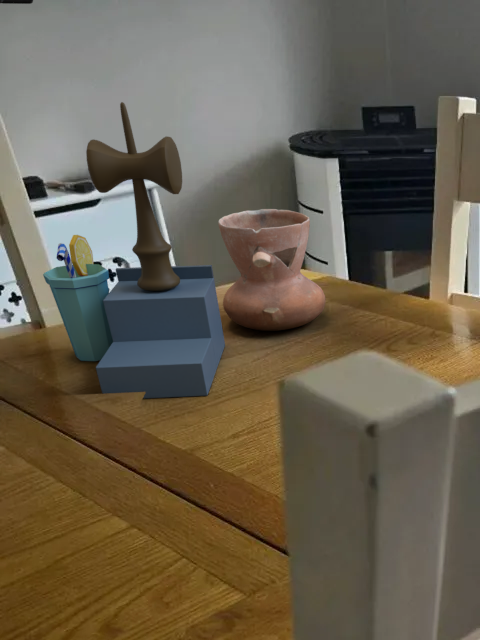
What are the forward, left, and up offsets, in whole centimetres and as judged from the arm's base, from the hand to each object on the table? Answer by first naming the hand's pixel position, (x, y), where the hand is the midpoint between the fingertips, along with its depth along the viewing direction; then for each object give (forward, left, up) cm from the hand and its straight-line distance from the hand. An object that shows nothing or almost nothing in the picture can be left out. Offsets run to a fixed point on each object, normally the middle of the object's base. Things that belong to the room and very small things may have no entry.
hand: (1, 3), depth 78 cm
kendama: (+7, +10, -29) cm, 31 cm away
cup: (-4, +12, -38) cm, 40 cm away
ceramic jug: (+19, +24, -38) cm, 49 cm away
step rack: (+7, +5, -38) cm, 39 cm away
